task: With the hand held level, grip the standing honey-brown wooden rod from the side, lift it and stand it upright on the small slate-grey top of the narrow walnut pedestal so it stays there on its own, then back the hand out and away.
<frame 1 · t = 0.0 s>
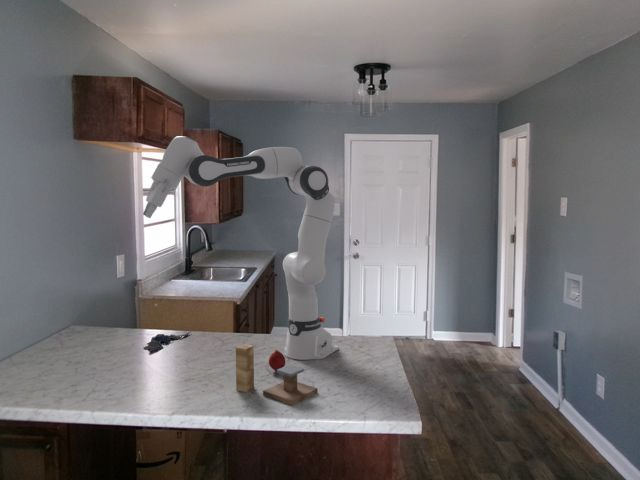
hand: (146, 216, 176), 54 cm above the counter, tool tilted 30°, fingers open, 8 cm apart
onion: (277, 372, 185), on the counter
wooden rod: (245, 389, 169), on the counter
decorative bat: (162, 344, 218), on the counter
pedestal: (290, 394, 165), on the counter
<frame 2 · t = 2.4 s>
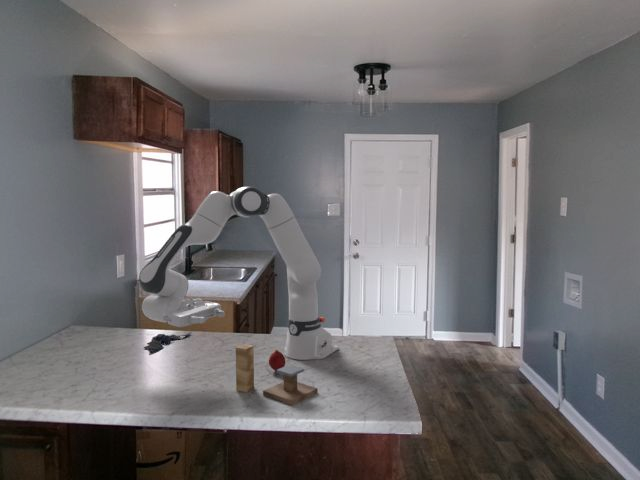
hand: (214, 317, 172), 22 cm above the counter, tool horizontal, fingers open, 8 cm apart
nothing on the counter moved.
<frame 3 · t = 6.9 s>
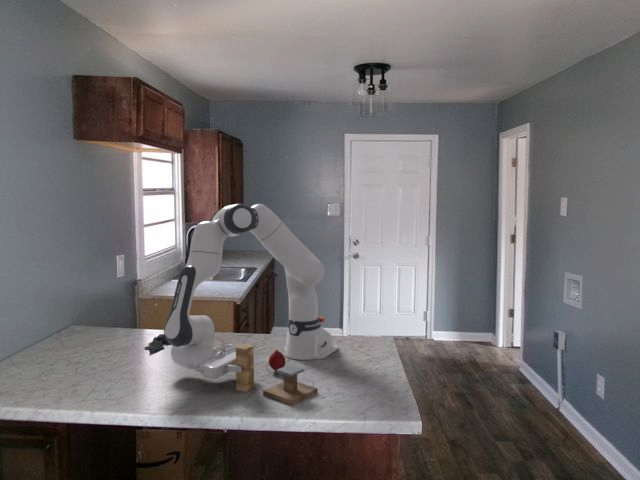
hand: (247, 366, 168), 8 cm above the counter, tool horizontal, fingers closed on wooden rod, 4 cm apart
wooden rod: (245, 389, 169), on the counter, touching gripper
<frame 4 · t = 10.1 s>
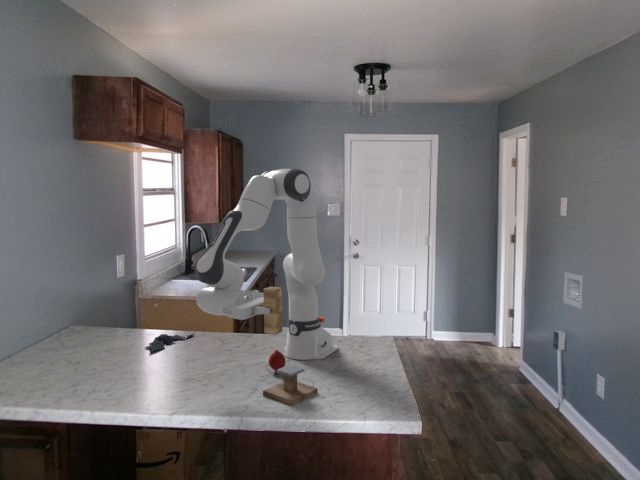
hand: (275, 309, 163), 27 cm above the counter, tool horizontal, fingers closed on wooden rod, 4 cm apart
wooden rod: (273, 332, 164), point 19 cm above the counter, touching gripper
when the fingers open (16 cm above the counter, at t = 13.5 s): wooden rod stays where it is, resting on pedestal.
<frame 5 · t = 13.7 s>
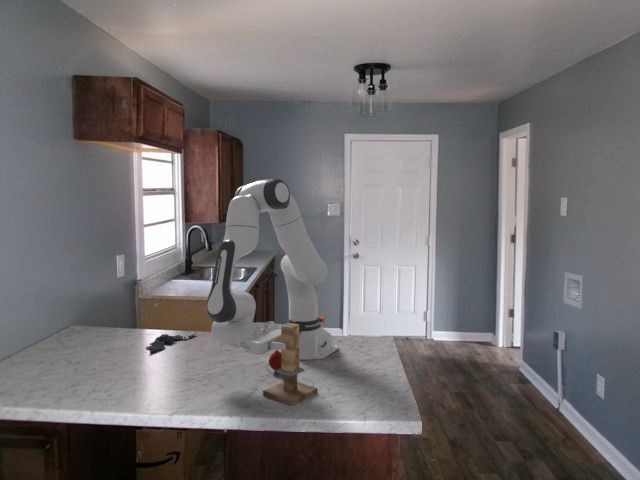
hand: (292, 343, 163), 16 cm above the counter, tool horizontal, fingers open, 6 cm apart
wooden rod: (290, 369, 164), point 8 cm above the counter, touching pedestal
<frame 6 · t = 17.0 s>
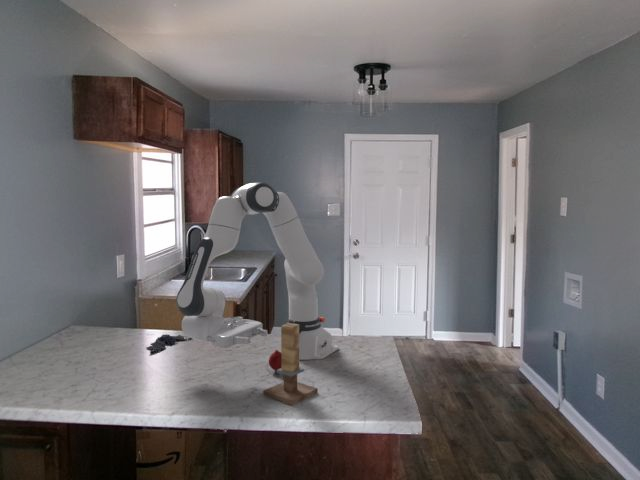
hand: (257, 337, 169), 17 cm above the counter, tool horizontal, fingers open, 8 cm apart
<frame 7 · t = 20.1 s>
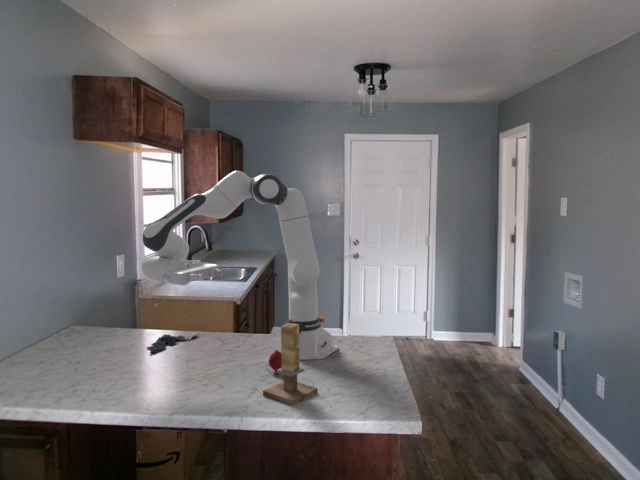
hand: (212, 275, 175), 35 cm above the counter, tool horizontal, fingers open, 8 cm apart
at the end: wooden rod 0.0 cm off-centre on the pedestal, point 8.0 cm above the pedestal's base; wooden rod tilted 0°; the gripper is holding nothing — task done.
